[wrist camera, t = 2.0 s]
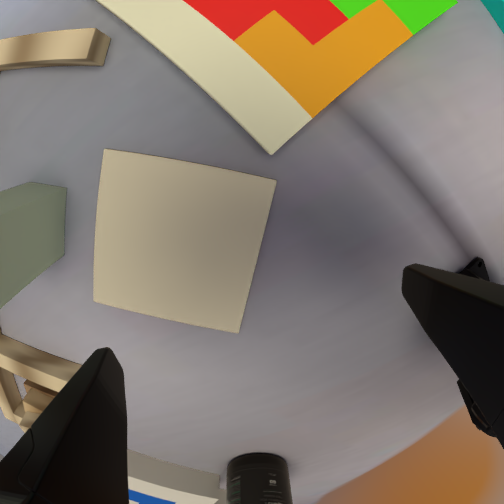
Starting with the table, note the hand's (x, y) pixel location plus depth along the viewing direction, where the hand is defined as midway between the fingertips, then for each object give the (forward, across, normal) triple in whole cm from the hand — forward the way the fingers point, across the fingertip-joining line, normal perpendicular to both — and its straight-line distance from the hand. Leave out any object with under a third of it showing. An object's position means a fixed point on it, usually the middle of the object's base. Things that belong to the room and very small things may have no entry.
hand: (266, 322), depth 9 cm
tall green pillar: (+14, +12, -2) cm, 19 cm away
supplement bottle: (+10, +3, +29) cm, 31 cm away
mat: (+12, +3, +2) cm, 13 cm away
